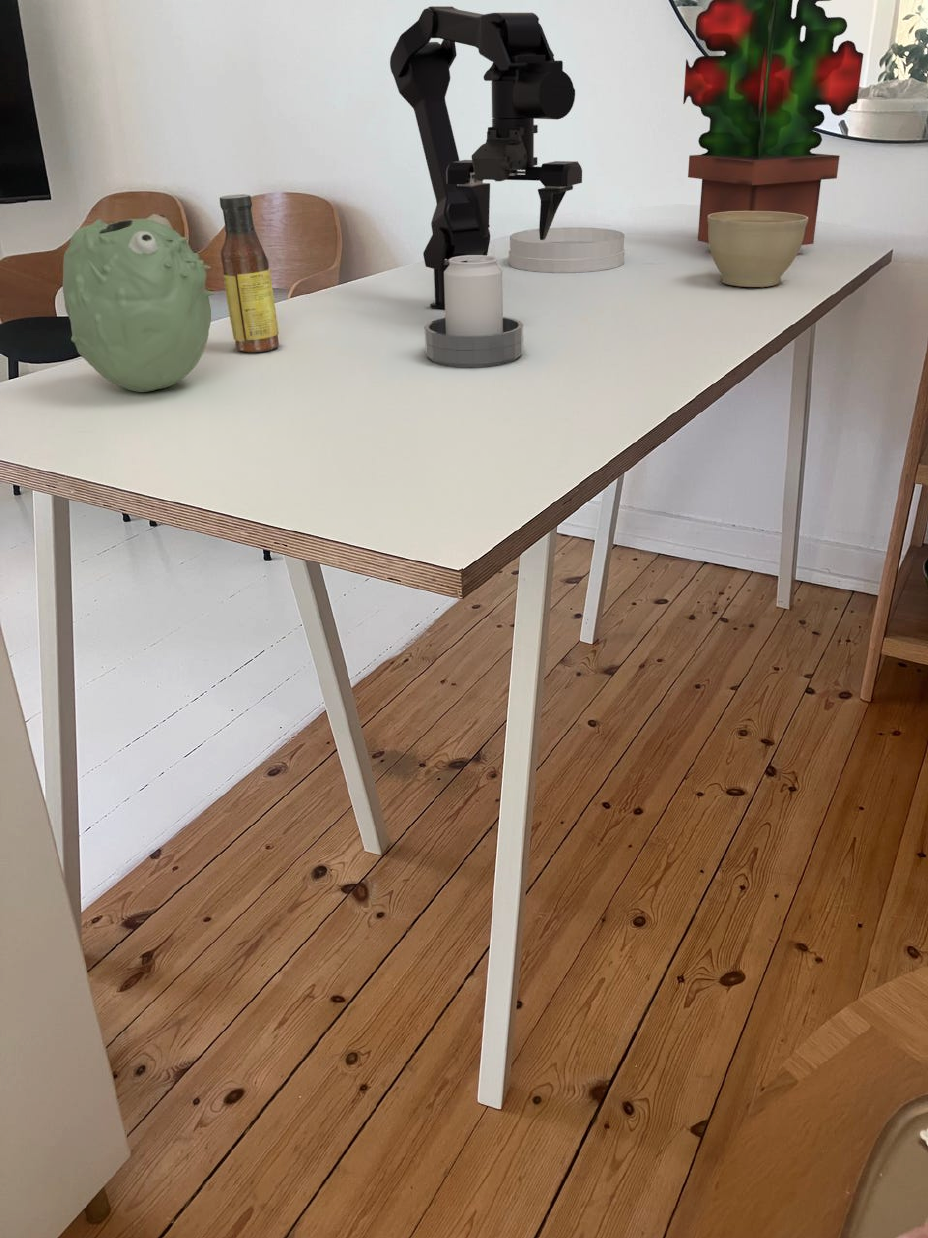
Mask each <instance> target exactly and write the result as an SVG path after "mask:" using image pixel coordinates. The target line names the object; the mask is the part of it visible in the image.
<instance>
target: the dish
mask: <svg viewBox="0 0 928 1238" xmlns="http://www.w3.org/2000/svg"><path fill="white" fill-rule="evenodd" d="M624 246H625V233H623V232H622V231H619V230H615V229H608V228H602V227H601V228H598V227H582V226H581V227H580V226H577V227H574V226H571V227H568V226H567V227H565V226H563V227H550V228H549V231H548V233H547V236H546V238H545V239H544V240H540V233H539V228H534V229H527V230H522V231H517V232H514V233H512V234H510V236H509V251H508V264H509V267H512V268H514V269H517V270H523V271H527V272H537V273H552V274H553V273H554V274H555V273H557V274H558V273H559V274H561V273H563V274H568V273H569V274H571V273H572V274H573V273H589V272H600V271H606V270H612V269H615V268H618V267H619V268H620V267H621V266H623V265H624V264H625V254H626V253H625V252H626V249H625V247H624Z"/></svg>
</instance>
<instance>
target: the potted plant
mask: <svg viewBox="0 0 928 1238" xmlns="http://www.w3.org/2000/svg"><path fill="white" fill-rule="evenodd" d="M793 1H794V0H711V1H710V2H709V3H708V6H707V9H705V10H704V11H701V12H700V13H698V14H697V17H696V20H695V36H696V38H697V39H699V40H700V41H703V42H704V44H705V47H706V49H707V50H708V51H710V52H724V54H723V55H701V56H699V57H697V58H695V60H694V61H693V64H692V66H690V63H689V61H688V59H687V58H685V71H684V86H683V87H684V88H683V102H682V104H683V105H685V103H686V101H687V99H688V98H690V100H691V101H690V102H691V104H692V105H693V106H695V107H698V108H699V109H700V112H701V115H702V116H704V117H705V118H708V119H709V130H708V131H706V132H703V133H701V134H700V136H699V138H698V145H699V146H700V148H702V149H704V150H707V151H706V152H704V153H701V154H691V155H689V157H688V169H687V171H688V173H687V178H689V179H690V178H691V179H696V180H697V179H698V180H701V189H700V203H699V216H698V227H697V228H698V231H697V242H700V243H706V244H709V240H708V215H709V214H713V213H718V212H728V211H773V212H787V213H794V214H800V215H804V216H807V217H808V222H807V225H806V227H805V233H804V237H803V241H802V244H801V246H809V245H814V241H815V234H816V227H817V226H816V225H817V217H818V209H819V202H820V201H819V200H820V191H821V183H822V181H823V180H835V179H838V172H839V166H840V165H839V164H840V158H841V157H840V155H838V154H826V153H813V152H811V150H813V149H817V148H818V147H819V146H820V145H821V144H822V142H823V138H822V135H821V134H820V132H818V131H815V130H814V128H817V127H820V126H821V125H822V124H823V123H824V122H825V119H826V117H825V113H824V112H823V111H822V110H820V109H817V108H816V107H817V106H829V107H830V112H831V113H832V115H834V116H838V117H840V116H843V115H844V114H846V113H847V111H848V109H849V107H850V106H851V105H855V104H857V103H858V98H859V91H860V85H861V84H860V83H861V75H862V68H863V62H864V61H863V60H864V53H863V52H861V51H859V50H857V47H856V44H855V42H853V40H845V41H842V42H841V43H840V44H839V45H838V48H837V50H836V51H834V45H835V44H834V43H835V39H836V38H837V37H838V36H841V35H843V34H844V33H845V32H846V31H847V29H848V22H847V20H846V19H845V18H844V17H841V16H832V17H831V16H830V17H828V16H827V15H826V11H825V9H824V7H822V6H820V5H817V4H816V3H818V2H830V1H831V0H798V1H797V3H796V9H795V16H794V17H792V11H793V3H794V2H793ZM803 27H804V28H805V31H804V38H803V40H801V36H802V35H801V33H802V28H803Z"/></svg>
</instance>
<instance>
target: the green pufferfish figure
mask: <svg viewBox="0 0 928 1238" xmlns="http://www.w3.org/2000/svg"><path fill="white" fill-rule="evenodd" d="M172 227H173V226H172V224H171V222H170V220H168V218H166V216H165V215H164V214H157V213H152V214H151V215H150V216H148V217H146V218H129V219H125V220H123V221H116V222H111V223H106V221H105V222H104V221H103V219H100V218H98V219H96V220H95V221H94V222H93V223H91V224H88V225H87V226H84V227H80V228H78V229H76V230H75V231H74V232H73V234H72V236H71V238H70V244H69V245H68V247H67V249H66V250H65V251H64V254H63V263H62V268H63V269H62V276H63V278H62V294H63V299H64V300H63V301H64V308H65V312H66V314H67V317H68V318H69V319H68V320H69V321H70V328H71V334H72V335H71V338H70V341H71V342H72V343H73V344H74V345H75V348H76V351H77V353H78V354H79V355H80V356H81V357H82V359H84V361H86V362H87V364H89V366H91V367H92V368H93V369H94V370H95V371H96V372H97V373H98V374H99V375H100V376H102V377H103V378H104V379H105V380H107V381H108V382H110V383H112V384H115V385H117V386H119V387H121V388H124V389H126V390H130V391H133V392H138V393H148V392H152V391H156V390H161V389H166V388H168V387H171V386H173V385H175V384H177V383H179V382H180V381H182V380H183V379H184V378H185V377H187V376H188V375H189V374H190V373H191V372H192V371H193V370H195V368H196V366H197V365H198V364H199V362H200V360H201V358H202V356H203V354H204V351H205V349H206V346H207V343H208V339H209V331H210V327H211V323H212V307H211V303H210V298H209V297H211V296H214V295H215V292H214V291H211V290H207V289H206V281H207V277H208V276H207V275H208V274H207V272H206V270H210V269H211V268H212V267H211V265H207V264H205V262H204V260H203V259H200V255H199V254H198V253H196V252H194V251H193V250H192V248H191V246H190V244H189V243H188V238H187V237H184V236H181V235H180V233H179V232H178V231H176V230H175V229H173V228H172Z"/></svg>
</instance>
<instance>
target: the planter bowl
mask: <svg viewBox="0 0 928 1238" xmlns="http://www.w3.org/2000/svg"><path fill="white" fill-rule="evenodd" d="M807 222H808V217H807V216H804V215H800V214H794V213H787V212H773V211H728V212H718V213H713V214H709V215H708V240H709V243H708V246H709V251H710V254H711V257H712V260H713V262H714V264H715V266H716V268H717V271H719V273H720V275H721V277H720V278H721V279H720V280H721V282H722V283H723V284H726V285H728V286H734V287H744V288H765V287H767V288H768V287H774V286H776V285H779V284H780V281H781V278H782V275H783V274H784V273H785V272H786V271H787V270H788V269H789V268H790V266H791V265H792V264H793V262H794V261H795V259H796V257H797V255H798V253H799V251H800V249H801V246H802V245H801V244H802V241H803V237H804V233H805V227H806V225H807Z"/></svg>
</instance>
